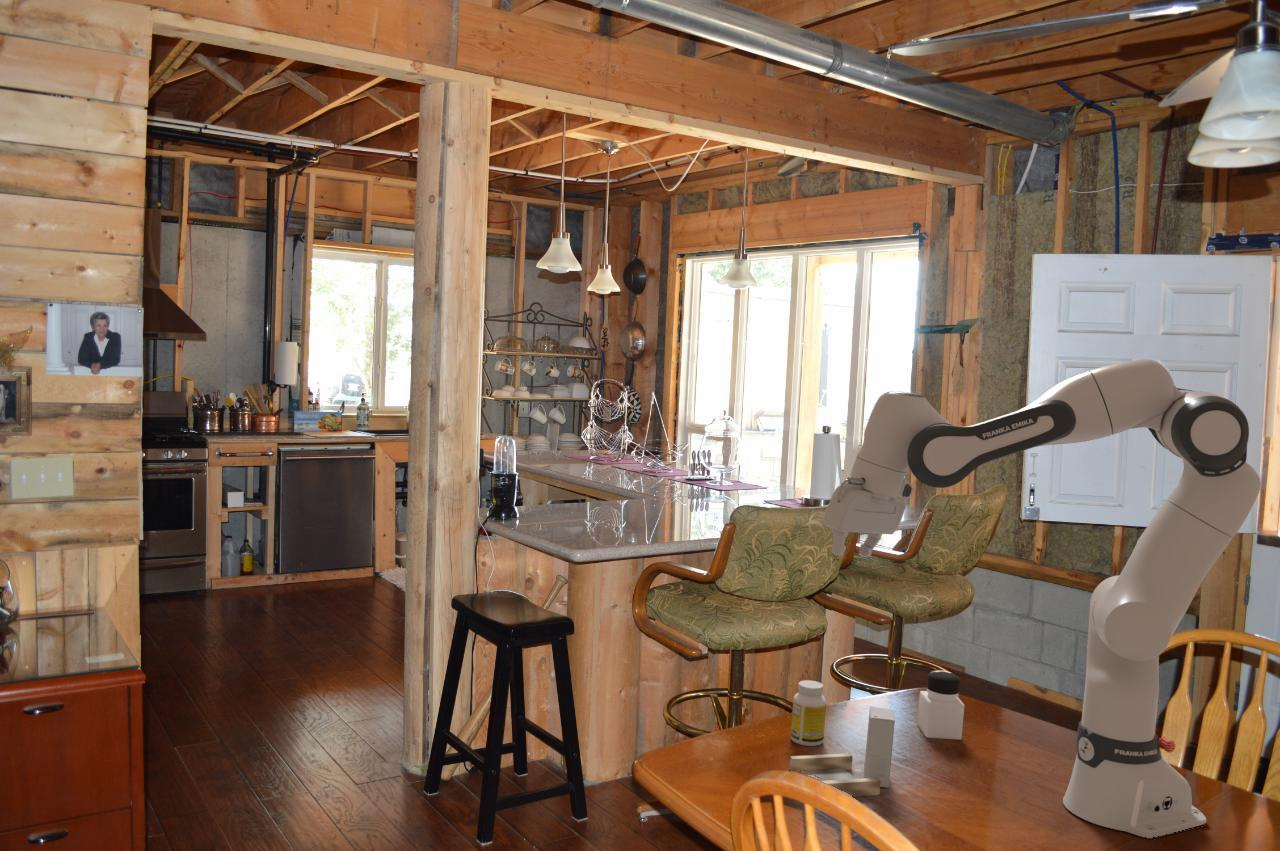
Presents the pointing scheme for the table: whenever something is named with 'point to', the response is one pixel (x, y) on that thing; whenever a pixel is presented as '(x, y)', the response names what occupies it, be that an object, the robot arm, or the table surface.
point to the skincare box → (879, 745)
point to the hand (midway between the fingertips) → (850, 555)
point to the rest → (835, 773)
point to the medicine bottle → (941, 707)
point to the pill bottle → (808, 714)
